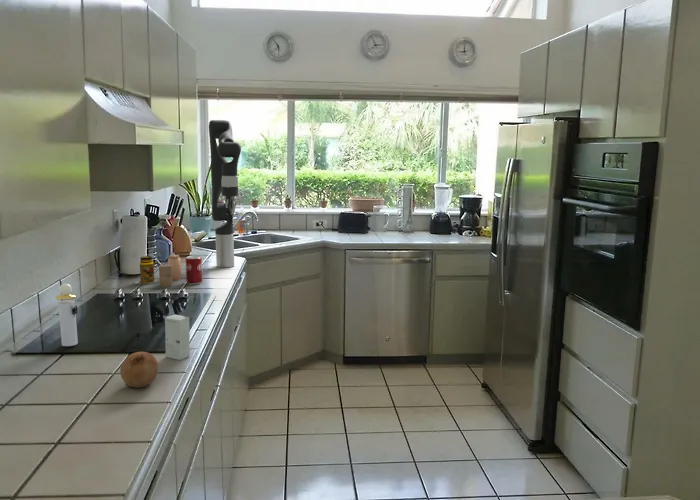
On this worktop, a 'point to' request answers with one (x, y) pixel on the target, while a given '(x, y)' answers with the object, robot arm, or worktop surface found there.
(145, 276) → the yellow coffee bottle can
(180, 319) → the skincare box
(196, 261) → the soda can
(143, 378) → the onion
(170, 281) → the block
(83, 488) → the worktop surface
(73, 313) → the perfume bottle
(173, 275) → the tan rounded cylinder
